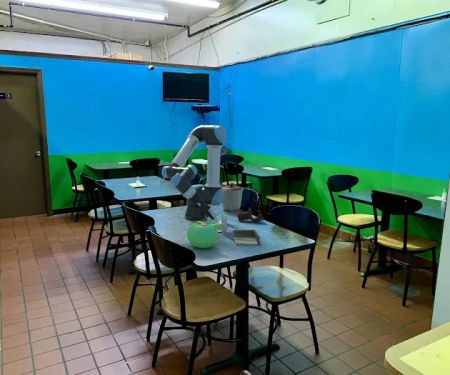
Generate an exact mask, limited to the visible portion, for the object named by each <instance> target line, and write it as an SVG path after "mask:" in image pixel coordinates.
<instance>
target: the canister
mask: <svg viewBox="0 0 450 375" xmlns="http://www.w3.org/2000/svg"><path fill="white" fill-rule="evenodd" d="M221 189H223V190H224V199H223V202H222V203H221V205H222V208H223V210H224V211H227V212H235V211H238V210H239V211H240V208H241V203H242V198H243V197H242V196H243V191H244V188H243V187H241V186H239V185H235V184H234V182H230V183H229V185H224V186H221Z"/></svg>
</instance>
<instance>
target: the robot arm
mask: <svg viewBox="0 0 450 375" xmlns="http://www.w3.org/2000/svg"><path fill="white" fill-rule="evenodd" d="M227 136H228V135H227V131H226V129H225V127H224V126H222V125H218V124H215V125H213V124H210V125H207V124H202V125H198V126H197V127H195V128H194V129H192V130H191V131H190V132H189V133H188V135H187V136H186V140H185V142H184V144H183V145H181V148H180V149H179V151H178V152H177V153H176V155H175V156H174V158H173V159H172V160H171V162H170V164H169V165H165V166H163V167H162V169H161V175H162V177H163V178H164V179H170V180H169V182H170V184H171V185H172V186H173V187H174V188H175V189H176V190H177V191H178V192H179V193H180V194H182V196H183V198H186V209H185V212H184V219H186V220H189V221H202V220H206V218H207V219H210V220H211V221H212V222H213V224H217V223H219V222H220V220H219V219H218V218H217V217H218V214H217V213H216V212H215V211H214V210H213V209H212V207H211V206H213V207H215V206H216V207H217V206H220V205H222V202H223V199H224V190H223V189H221V187H222V185H221V184H220V177H221V176H220V175H221V174H220V173H221V172H220V170H221V168H220V167H221V149H222V148H223V147H224V144H225V143H226V142H227V138H228V137H227ZM203 143H205V146H206V148H207V158H206V160H207V163H206V183H205V184H193V185H192V184H191V181H192V180H193V179H195V177H196V175H197V174H198V168H197V167H196V166H195V165H194V164H188V165H186V167H184V166H185V164H186V163H187V161H188V159H189V158H190V157H191V154H193V152H194V150H195V149H196V147H198V146H200V144H203Z"/></svg>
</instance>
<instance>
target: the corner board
mask: <svg viewBox="0 0 450 375" xmlns="http://www.w3.org/2000/svg"><path fill="white" fill-rule="evenodd" d="M233 240H234V243H235V246H236V247H238V246H239V247H241V246H242V247H244V246H260V243H259V245H258V243H257V241H256V239H255V238H254V237H234V236H233Z"/></svg>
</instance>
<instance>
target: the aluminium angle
mask: <svg viewBox="0 0 450 375" xmlns="http://www.w3.org/2000/svg"><path fill="white" fill-rule="evenodd" d="M221 223H222V224H223V225H221V233H222V235H234V230H233V229H228V228H227V226H228V225H227V224H228V217H227V214H221Z"/></svg>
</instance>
